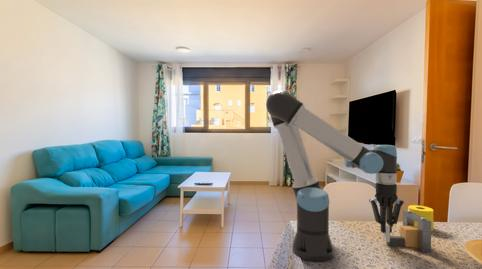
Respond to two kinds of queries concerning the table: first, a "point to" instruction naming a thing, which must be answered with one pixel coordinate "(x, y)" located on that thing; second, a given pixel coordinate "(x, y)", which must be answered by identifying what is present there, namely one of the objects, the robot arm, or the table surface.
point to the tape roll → (422, 213)
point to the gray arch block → (419, 229)
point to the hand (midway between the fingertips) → (386, 240)
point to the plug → (405, 237)
